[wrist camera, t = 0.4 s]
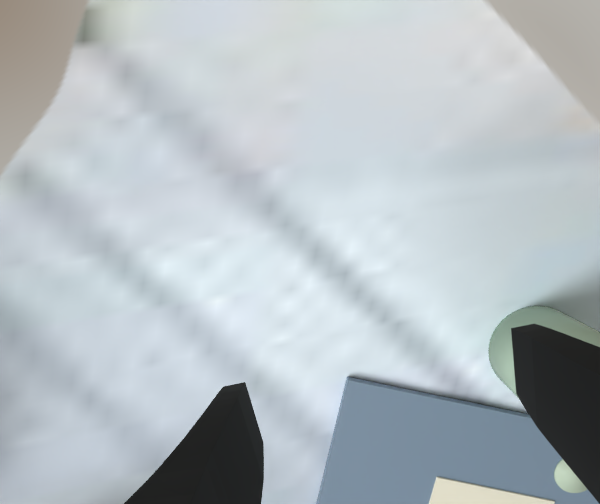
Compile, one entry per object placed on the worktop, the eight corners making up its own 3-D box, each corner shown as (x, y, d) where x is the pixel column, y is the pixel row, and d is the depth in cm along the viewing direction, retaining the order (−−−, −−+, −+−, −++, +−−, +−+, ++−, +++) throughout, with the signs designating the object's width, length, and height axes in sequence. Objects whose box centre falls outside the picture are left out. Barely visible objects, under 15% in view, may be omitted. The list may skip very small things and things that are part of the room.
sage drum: (563, 398, 22) (635, 460, 17) (478, 381, 22) (525, 437, 17) (591, 316, 22) (675, 356, 17) (502, 297, 22) (560, 331, 17)
